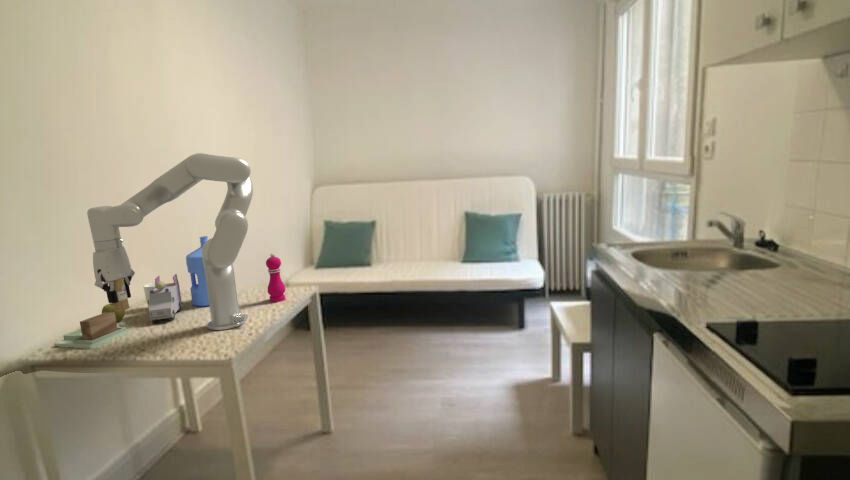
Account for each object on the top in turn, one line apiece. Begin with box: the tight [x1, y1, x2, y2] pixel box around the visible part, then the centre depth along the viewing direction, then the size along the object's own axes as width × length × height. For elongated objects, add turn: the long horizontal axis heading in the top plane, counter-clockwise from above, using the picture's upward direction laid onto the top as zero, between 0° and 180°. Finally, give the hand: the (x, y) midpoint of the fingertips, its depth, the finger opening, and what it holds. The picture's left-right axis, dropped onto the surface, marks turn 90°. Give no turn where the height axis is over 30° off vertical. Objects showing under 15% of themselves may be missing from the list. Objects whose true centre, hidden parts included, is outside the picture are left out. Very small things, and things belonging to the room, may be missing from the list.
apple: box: [101, 303, 126, 323], centre depth 192 cm, size 8×8×7 cm
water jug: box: [185, 235, 210, 307], centre depth 211 cm, size 16×16×28 cm
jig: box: [53, 326, 129, 350], centre depth 173 cm, size 15×15×3 cm
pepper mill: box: [265, 252, 286, 303], centre depth 208 cm, size 7×7×20 cm
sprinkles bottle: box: [113, 274, 131, 312], centre depth 162 cm, size 5×5×14 cm
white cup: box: [142, 281, 166, 310], centre depth 208 cm, size 8×8×10 cm
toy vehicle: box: [146, 273, 183, 323], centre depth 194 cm, size 9×20×15 cm, turn 15°
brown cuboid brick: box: [79, 312, 118, 341], centre depth 171 cm, size 4×10×7 cm, turn 165°
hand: (120, 299), depth 162 cm, fingers closed on sprinkles bottle, 4 cm apart
